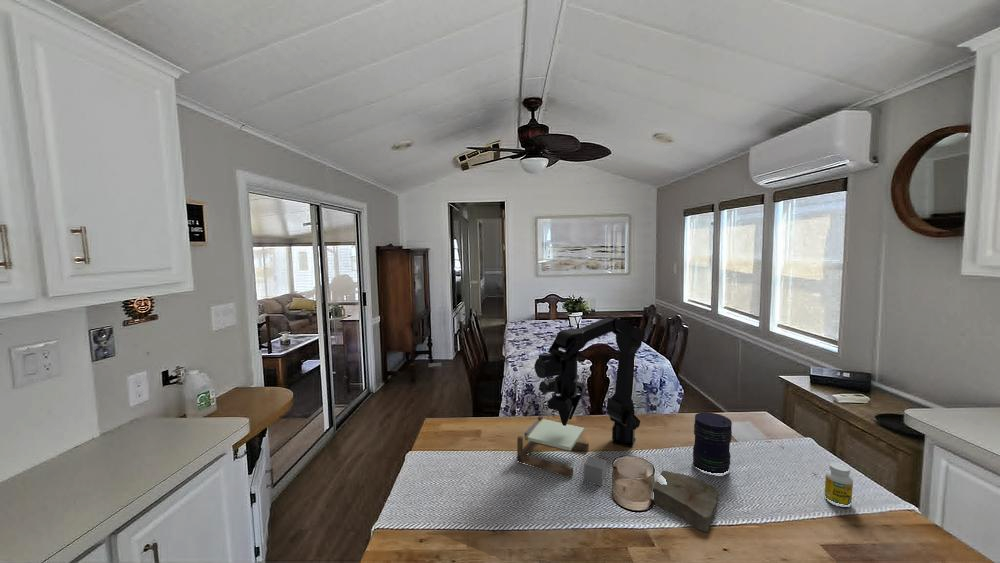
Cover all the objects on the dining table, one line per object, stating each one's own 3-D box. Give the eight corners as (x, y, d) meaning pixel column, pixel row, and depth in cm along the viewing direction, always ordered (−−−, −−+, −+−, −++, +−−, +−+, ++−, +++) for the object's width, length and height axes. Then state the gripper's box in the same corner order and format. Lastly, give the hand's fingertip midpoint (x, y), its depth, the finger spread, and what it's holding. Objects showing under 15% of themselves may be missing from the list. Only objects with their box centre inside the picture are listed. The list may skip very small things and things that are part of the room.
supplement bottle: (844, 497, 105) (847, 463, 104) (855, 510, 100) (858, 474, 99) (820, 494, 107) (822, 459, 106) (829, 506, 102) (832, 470, 101)
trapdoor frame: (517, 462, 123) (517, 437, 122) (539, 438, 138) (539, 415, 137) (571, 477, 114) (572, 451, 114) (588, 450, 130) (588, 426, 129)
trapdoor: (521, 439, 123) (521, 435, 123) (539, 421, 135) (539, 417, 135) (570, 451, 116) (570, 447, 116) (584, 431, 128) (584, 427, 128)
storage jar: (687, 467, 119) (689, 419, 118) (698, 455, 127) (700, 409, 125) (724, 481, 113) (727, 430, 111) (733, 466, 120) (736, 418, 119)
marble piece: (707, 535, 92) (708, 518, 92) (643, 509, 101) (644, 493, 101) (722, 499, 105) (722, 484, 105) (664, 479, 114) (664, 465, 114)
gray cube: (605, 476, 115) (606, 460, 115) (601, 486, 111) (602, 469, 110) (588, 472, 117) (589, 456, 117) (583, 481, 113) (584, 464, 113)
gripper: (553, 361, 134) (553, 406, 135) (530, 377, 117) (530, 428, 119) (586, 365, 128) (585, 412, 130) (567, 383, 112) (566, 437, 113)
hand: (566, 422), depth 123 cm, fingers open, 4 cm apart
